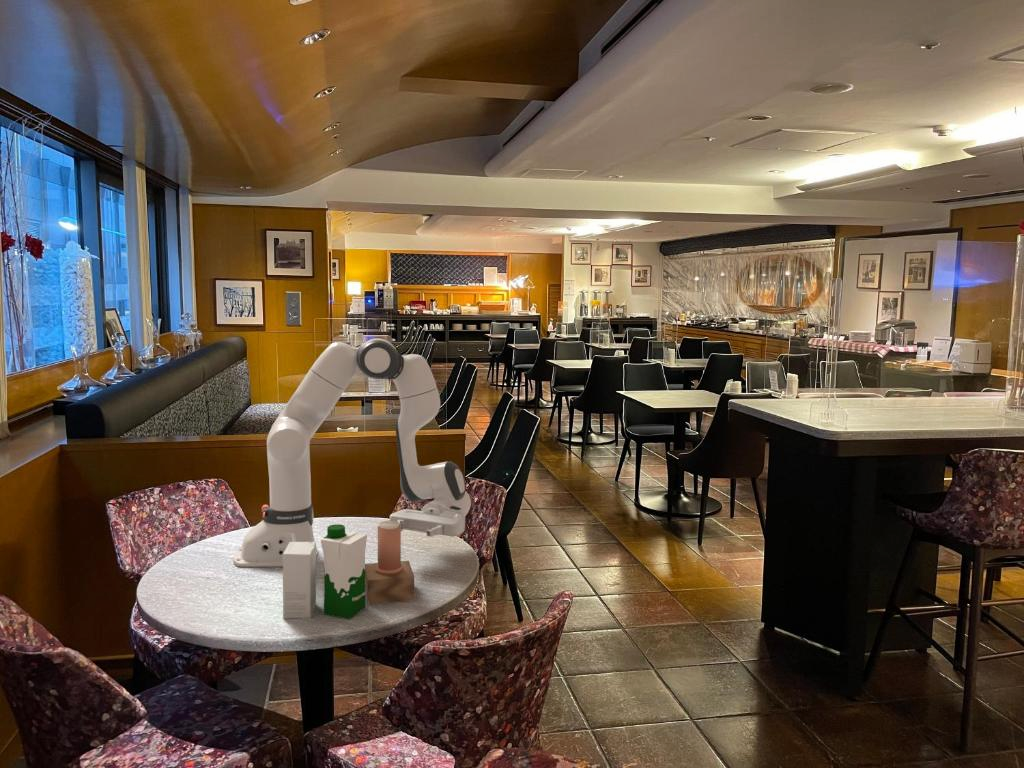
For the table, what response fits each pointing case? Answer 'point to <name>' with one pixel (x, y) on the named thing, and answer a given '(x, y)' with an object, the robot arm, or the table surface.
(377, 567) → the canister
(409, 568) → the block
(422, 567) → the table surface
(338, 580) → the milk carton
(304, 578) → the skincare box
